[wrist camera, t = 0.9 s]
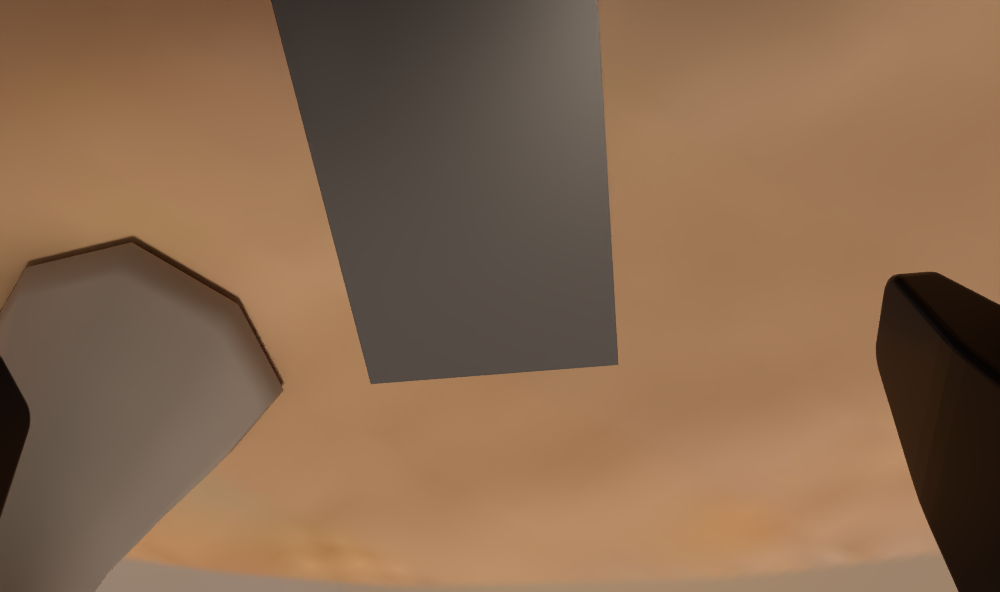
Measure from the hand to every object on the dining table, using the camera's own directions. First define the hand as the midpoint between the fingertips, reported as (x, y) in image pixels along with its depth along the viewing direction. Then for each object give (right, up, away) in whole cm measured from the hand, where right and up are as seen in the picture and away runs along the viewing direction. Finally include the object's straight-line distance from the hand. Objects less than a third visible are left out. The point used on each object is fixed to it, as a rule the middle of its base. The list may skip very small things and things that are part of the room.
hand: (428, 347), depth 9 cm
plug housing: (0, +6, +9) cm, 11 cm away
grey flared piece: (-9, -1, +15) cm, 17 cm away
